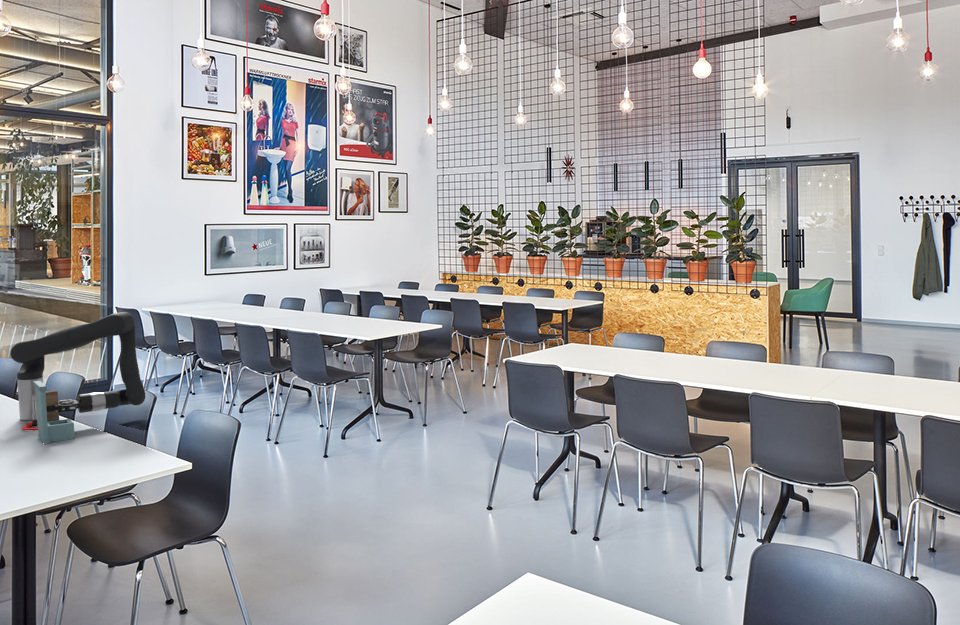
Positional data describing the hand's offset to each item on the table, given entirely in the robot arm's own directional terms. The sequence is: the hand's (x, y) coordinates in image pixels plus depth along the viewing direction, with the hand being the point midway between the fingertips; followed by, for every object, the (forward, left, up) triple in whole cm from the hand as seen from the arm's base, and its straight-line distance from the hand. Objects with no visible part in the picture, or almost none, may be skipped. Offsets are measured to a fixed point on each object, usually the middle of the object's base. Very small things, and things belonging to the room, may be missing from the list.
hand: (43, 408), depth 283 cm
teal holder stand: (+13, +3, -10) cm, 16 cm away
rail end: (0, +3, -10) cm, 10 cm away
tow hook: (-11, -2, -10) cm, 15 cm away
